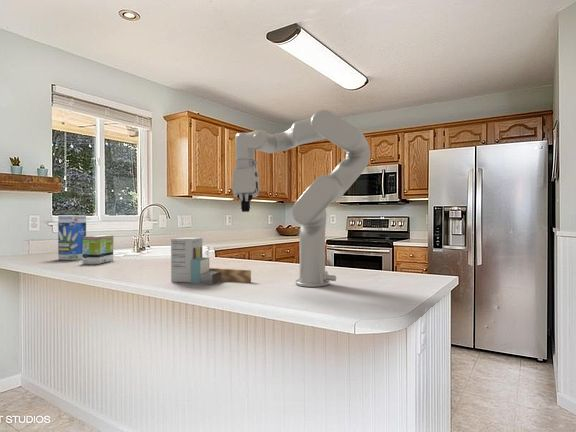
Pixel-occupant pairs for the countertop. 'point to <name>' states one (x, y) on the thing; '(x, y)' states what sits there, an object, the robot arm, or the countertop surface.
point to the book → (198, 269)
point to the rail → (234, 274)
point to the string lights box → (71, 237)
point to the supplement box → (184, 257)
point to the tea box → (97, 249)
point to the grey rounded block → (210, 277)
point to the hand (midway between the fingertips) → (245, 211)
